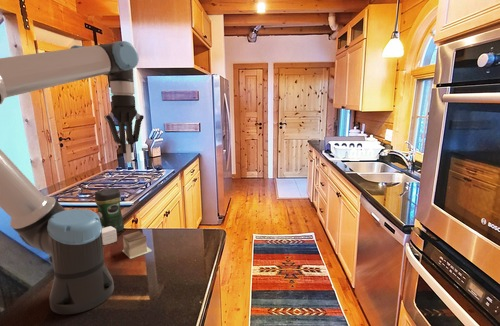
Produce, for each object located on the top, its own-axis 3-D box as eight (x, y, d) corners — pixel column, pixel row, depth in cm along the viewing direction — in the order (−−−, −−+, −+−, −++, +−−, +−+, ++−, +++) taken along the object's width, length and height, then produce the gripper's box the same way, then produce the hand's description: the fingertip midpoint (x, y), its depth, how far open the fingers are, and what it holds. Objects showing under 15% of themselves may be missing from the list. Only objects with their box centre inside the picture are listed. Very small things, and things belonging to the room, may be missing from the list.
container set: (111, 238, 113) (110, 225, 112) (117, 242, 109) (116, 229, 108) (53, 256, 98) (51, 242, 97) (57, 262, 94) (55, 247, 93)
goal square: (152, 251, 101) (152, 250, 101) (130, 258, 96) (130, 258, 96) (143, 243, 107) (143, 243, 107) (122, 250, 102) (122, 250, 102)
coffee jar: (117, 225, 125) (114, 185, 122) (126, 230, 120) (123, 188, 117) (95, 232, 117) (90, 190, 114) (104, 237, 112) (99, 193, 109)
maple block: (129, 241, 96) (130, 257, 97) (146, 236, 100) (147, 251, 101) (122, 235, 100) (124, 251, 101) (139, 231, 104) (140, 245, 105)
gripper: (137, 96, 103) (141, 158, 107) (99, 94, 94) (105, 162, 98) (146, 95, 98) (150, 161, 102) (106, 93, 89) (112, 165, 93)
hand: (128, 162), depth 100 cm, fingers closed
